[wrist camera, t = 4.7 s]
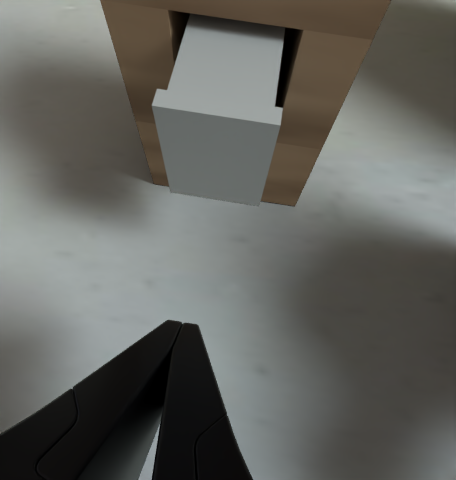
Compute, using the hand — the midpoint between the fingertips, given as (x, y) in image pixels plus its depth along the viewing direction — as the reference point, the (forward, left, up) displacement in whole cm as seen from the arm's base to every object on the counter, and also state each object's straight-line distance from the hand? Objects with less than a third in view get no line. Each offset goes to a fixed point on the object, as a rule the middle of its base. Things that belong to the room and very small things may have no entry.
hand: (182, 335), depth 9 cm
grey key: (+6, +7, -2) cm, 9 cm away
